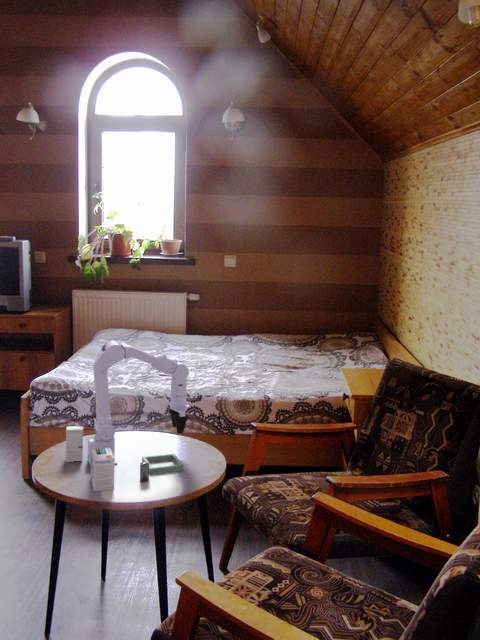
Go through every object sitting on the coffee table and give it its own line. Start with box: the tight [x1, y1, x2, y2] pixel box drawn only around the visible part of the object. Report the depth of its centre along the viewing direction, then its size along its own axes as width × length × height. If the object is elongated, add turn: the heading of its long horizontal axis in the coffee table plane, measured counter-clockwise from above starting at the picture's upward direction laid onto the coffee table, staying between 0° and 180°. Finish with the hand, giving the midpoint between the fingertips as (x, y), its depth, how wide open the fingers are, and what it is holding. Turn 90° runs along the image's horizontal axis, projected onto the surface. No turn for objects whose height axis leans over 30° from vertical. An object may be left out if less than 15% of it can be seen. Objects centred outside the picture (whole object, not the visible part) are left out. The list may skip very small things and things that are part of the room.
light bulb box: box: [90, 448, 115, 492], centre depth 218 cm, size 11×7×11 cm, turn 19°
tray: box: [141, 453, 184, 475], centre depth 236 cm, size 12×12×2 cm
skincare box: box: [65, 425, 84, 463], centre depth 239 cm, size 6×4×12 cm
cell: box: [139, 462, 150, 483], centre depth 222 cm, size 3×3×6 cm
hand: (177, 429), depth 246 cm, fingers open, 7 cm apart
